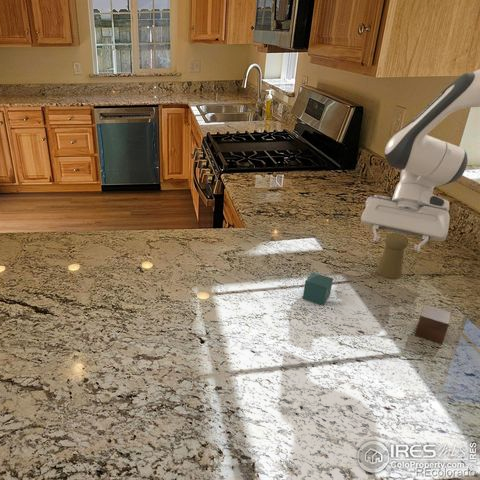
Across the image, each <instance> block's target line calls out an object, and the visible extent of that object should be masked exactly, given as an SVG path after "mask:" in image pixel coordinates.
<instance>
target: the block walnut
mask: <svg viewBox="0 0 480 480" xmlns="http://www.w3.org/2000/svg"><path fill="white" fill-rule="evenodd" d="M451 317H452V312H451V311H448V310H443V309H440V308H437V307H434V306H432V305H431V306H430V305H428V304H423V306H422V308H421V312H420V315H419V318H418V322H417V326H416V328H415V332H414V336H415V337H418V338H423V339H426V340H429V341H432V342H435V343H437V344H441V345H443V343H444V340H445V338H446V334H447V331H448V328H449V325H450V322H451Z"/></svg>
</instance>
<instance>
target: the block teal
mask: <svg viewBox="0 0 480 480" xmlns="http://www.w3.org/2000/svg"><path fill="white" fill-rule="evenodd" d="M333 282H334V278H333V277H330V276H326V275H323V274H320V273H316V272H311V273H310V275H309V276H308V277H307V278H306V279H305V281H304V288H303V294H302V300H305V301H309V302H312V303H315V304H317V305H320V306H325V304H326V303H327V301H328V299H329V298H330V297H331V291H332V287H333Z"/></svg>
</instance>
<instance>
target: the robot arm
mask: <svg viewBox="0 0 480 480" xmlns="http://www.w3.org/2000/svg"><path fill="white" fill-rule="evenodd" d="M468 108H469V109H470V108H480V68H479V69H477V70H475V71H472V72H466V73H463V74H462V75H460V76H458V78H456V79H454V81H452V82H451V83H449V84H448V85H447V86H446V87H445V88H444V89H443V90H442V91H441V92H439V94H438V95H437V96H436V97H434V98H433V100H431V101H430V102H429V104H427V105H426V106H425V108H423V109H422V110H421V111H419V113H418V114H417V115H416V116H415V117H414V118H413V119H411V121H409V123H407V124H406V125H404V126H403V127H402V128H400V129H399V130H398V131H396V133H394V134H393V136H391V138H390V139H388V142H387V143H386V145H385V148H384V150H383V155H384V158H385V160H386V162H387V164H388V166H389V167H390V168H393V169H397V170H401V172H400V174H399V182H398V183H397V184H396V186H395V189H394V192H393V195H392V196H391V197H390V196H387V195H385V196H384V195H379V194H374V195H370V196H369V197H367V198H366V200H365V203H364V204H365V205H364V206H365V207H364V210H363V211H362V214H361V216H360V223H361V224H362V226H365V227H369V228H372V234H373V239H372V243H373V244H377V245H379V244H380V241H381V239H382V236H381V235H379V234H378V232H379V231H380V230H382V231H385V232H391V233H396V234H401V235H404V236H410V237H414V238H419V239H421V241H420V242H419V243H418V244H417V243H414V245H413V247H412V253H415V254H420V251H421V249H422V248H423V247H424V246H426V245H427V244H428V243H429V241H433V242H437V243H442V242H445V241H446V239H447V237H448V232H449V228H450V219H451V217H450V213H449V211H450V201H449V200H446V199H444V198H442V197H440V196H437V195H435V194H434V189H435V188H436V187H443V186H446V185H449V184H452V183H455V182H456V181H458V180H459V179H461V177H463V176H464V173H465V171H466V169H467V166H468V161H469V160H468V153H467V151H466V150H465V149H464V148H462V147H460V146H458V145H456V144H453V143H451V142H448V141H445V140H441V139H439V138H436V137H435V136H431V135H429V133H430V132H431V131H432V130H433V129H434V128H436V127H437V126H438V125H439V124H440V123H441V122H442V121H443V120H444V119H445V118H447V117H448V116H449V115H450V114H452V113H455V112H456V111H459V110H462V109H468Z"/></svg>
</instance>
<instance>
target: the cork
mask: <svg viewBox="0 0 480 480" xmlns="http://www.w3.org/2000/svg"><path fill="white" fill-rule="evenodd" d="M384 244H385V248H384V251H383V252H382V255H381V257H380V260H379V262H378V265H377V268H376V270H375V273H376V274H378V275H379V276H381V277H382V278H385V279H392V280H396V279H400V278H402V272H403V261H404V254H405V253H404V252H405V249H407V247H408V245H409V239H408V237H406V235H405V234H400V233H395V232H392V233H389V234H388V235H387V236H386V237H385V240H384Z"/></svg>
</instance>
